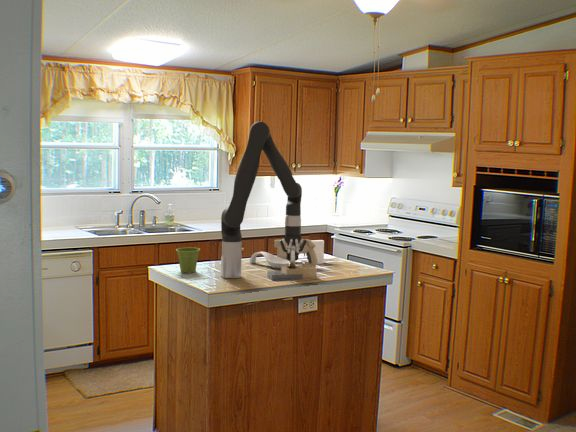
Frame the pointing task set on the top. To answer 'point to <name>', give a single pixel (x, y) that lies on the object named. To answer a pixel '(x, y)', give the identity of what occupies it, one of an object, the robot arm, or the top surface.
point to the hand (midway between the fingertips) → (292, 260)
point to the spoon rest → (270, 260)
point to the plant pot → (188, 259)
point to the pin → (292, 256)
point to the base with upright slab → (319, 250)
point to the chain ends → (294, 273)
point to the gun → (306, 250)
